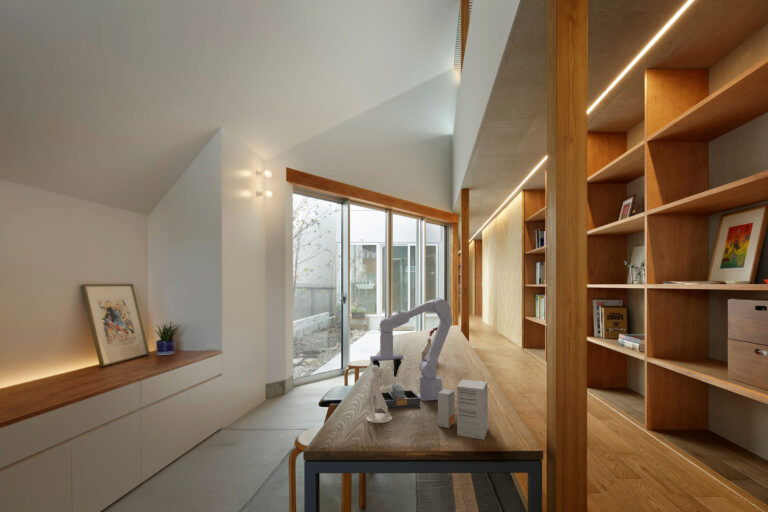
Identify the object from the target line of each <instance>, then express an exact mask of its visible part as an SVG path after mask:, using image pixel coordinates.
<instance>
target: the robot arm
mask: <svg viewBox="0 0 768 512" xmlns="http://www.w3.org/2000/svg"><path fill="white" fill-rule="evenodd" d="M426 312H431V313H434V312H435V313H436V315H437V317H438V319H439V324H438V326H437V328H436V331H435V334H434V336H433V338H432V342H431V343H430V346H429V348H428V351H427V352H428V353H426V355H425V356H424V359H423V360H422V361H421V362H420V363H419V371H420V372H421V374H420V375H419V393H416V394H417V395H418V396H419V397H420V401H422V402H423V401H424V402H425V401H427V402H428V401H438V393H439V392H440V391H441V390H443V381H442V378H441V377H440V376H437V373H438V370H437V367H438V365H439V363H438V362H439V357H440V355H441V352H442V350H443V346H444V344H445V341H446V338H447V337H448V334H449V332H450V328H451V326H452V324H453V318H452V311H451V306H450V304H449V303H448V301H447V300H445V299H443V298H440V297H436V298H434V299H430V300H428V301H425V302H423V303H421V304H419V305H417V306H415V307H413V308H411V309H409V310H407V311H406V310H404V309H403V310H399V309H398V310H397V312H395V313H394V314H393V315H388V316H387V317H384V318H382V319H381V320H380V322H379V327H380V335H379V340H380V341H379V345H380V346H379V347H380V348H379V350H380V351H379V355H373V356H372V355H371V356H370V357H369V361H370V362H372V366H375V365H377V366H378V367H379V368H380V369H381V363H380V362H381V361H392V362H393V377H395V378H397V376H398V372H399V368H400V366H401V364H402V361H403V360H404V355H403V354H394V334H393V331H394V328H395V329H397V328H399V327H401V326H404V325H406V324H408V323H409V322H410V319H412V318H414V317H416V316H418V315H420V314H423V313H426Z"/></svg>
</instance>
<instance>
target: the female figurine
mask: <svg viewBox="0 0 768 512" xmlns="http://www.w3.org/2000/svg"><path fill="white" fill-rule="evenodd" d="M371 372H372V375H371V377H370V379H369V381H370V389H369V393H367V395H368V399H367V407H368V408H369V410H370V409H371V413H370V414H369V415H367V416H366V420H367V421H368V422H370V423H375V424H385V423H388V422H390V421H391V420H393V418H392V417H393V416H392V415H390V413H389V410H388V407H387V405H386V403H385V400H384V398H383V395H382V390H383V389H385V387H388V386H391V385H392V384H384V385H383V387H382V389H381V387H380V386H382V385H379V381H380V380H382V379H384V376H383V374H384V370H383V368H381V367H380V368H379V367H378V366H377V365H375V366H374V365H372V366H371ZM362 388H364V387H361V389H362ZM351 390H357V391H359V392H360V393H361V394H363V395H365V393H364V392H362V391H360V388H356V387H354V388H351ZM380 409H381V410H382V411H384V413H383V412H381V413H380V412H379V413H377V412H375V411H376V410H380Z"/></svg>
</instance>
